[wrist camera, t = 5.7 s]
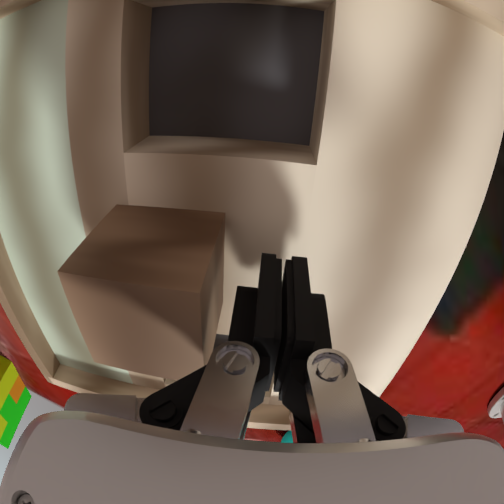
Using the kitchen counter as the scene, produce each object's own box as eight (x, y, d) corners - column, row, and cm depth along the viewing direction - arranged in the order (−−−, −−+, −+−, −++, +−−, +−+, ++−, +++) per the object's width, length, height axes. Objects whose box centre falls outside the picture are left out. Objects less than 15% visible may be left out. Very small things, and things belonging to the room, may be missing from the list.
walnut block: (225, 212, 12) (199, 292, 8) (223, 301, 14) (205, 385, 10) (116, 204, 12) (57, 271, 8) (131, 289, 14) (94, 362, 11)
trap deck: (479, 24, 8) (540, 24, 4) (362, 380, 22) (369, 429, 18) (1, 19, 9) (-56, 26, 5) (69, 341, 23) (48, 382, 19)
